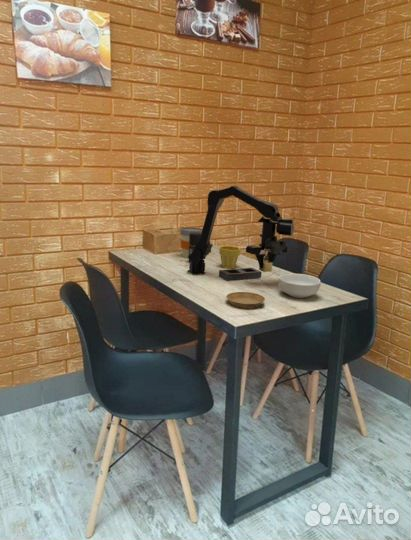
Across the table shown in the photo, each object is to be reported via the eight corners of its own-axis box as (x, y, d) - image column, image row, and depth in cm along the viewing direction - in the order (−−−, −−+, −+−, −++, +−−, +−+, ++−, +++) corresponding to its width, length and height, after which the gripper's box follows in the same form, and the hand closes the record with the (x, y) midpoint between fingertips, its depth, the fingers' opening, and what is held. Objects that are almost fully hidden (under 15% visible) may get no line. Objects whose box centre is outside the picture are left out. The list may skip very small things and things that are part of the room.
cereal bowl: (269, 291, 191) (270, 275, 189) (299, 287, 199) (301, 271, 198) (295, 303, 177) (297, 286, 175) (327, 299, 185) (329, 282, 183)
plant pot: (243, 267, 228) (244, 248, 226) (227, 270, 222) (228, 250, 220) (229, 263, 236) (231, 244, 234) (214, 265, 230) (215, 246, 227)
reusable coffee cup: (202, 260, 240) (203, 231, 236) (178, 258, 240) (179, 230, 236) (202, 254, 252) (204, 228, 249) (180, 253, 252) (181, 226, 249)
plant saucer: (223, 308, 168) (223, 301, 168) (228, 296, 182) (228, 290, 182) (263, 312, 166) (263, 305, 165) (265, 300, 180) (266, 293, 179)
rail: (227, 281, 203) (227, 274, 202) (218, 276, 210) (219, 270, 209) (261, 277, 211) (261, 271, 210) (251, 273, 218) (252, 267, 217)
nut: (264, 272, 198) (264, 262, 197) (259, 269, 202) (259, 260, 201) (271, 271, 200) (272, 262, 199) (266, 269, 204) (267, 260, 203)
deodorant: (201, 261, 236) (202, 233, 232) (197, 264, 231) (198, 235, 227) (190, 260, 238) (191, 232, 234) (186, 262, 232) (187, 233, 229)
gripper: (261, 237, 186) (258, 274, 190) (297, 235, 194) (293, 271, 198) (246, 232, 195) (243, 268, 199) (281, 231, 204) (278, 265, 208)
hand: (265, 268), depth 201 cm, fingers closed on nut, 4 cm apart
